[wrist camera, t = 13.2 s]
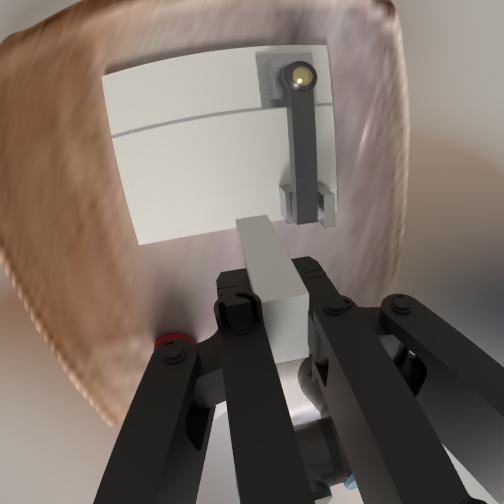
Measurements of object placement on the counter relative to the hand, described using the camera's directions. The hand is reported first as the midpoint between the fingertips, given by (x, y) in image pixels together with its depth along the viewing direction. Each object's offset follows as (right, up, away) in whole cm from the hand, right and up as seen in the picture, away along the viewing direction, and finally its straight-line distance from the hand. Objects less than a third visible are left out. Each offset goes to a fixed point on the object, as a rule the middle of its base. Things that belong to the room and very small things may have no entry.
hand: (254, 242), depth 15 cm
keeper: (+5, +6, +20) cm, 21 cm away
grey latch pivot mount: (+3, +17, +13) cm, 22 cm away
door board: (-3, +12, +16) cm, 20 cm away
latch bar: (+5, +10, +13) cm, 17 cm away
